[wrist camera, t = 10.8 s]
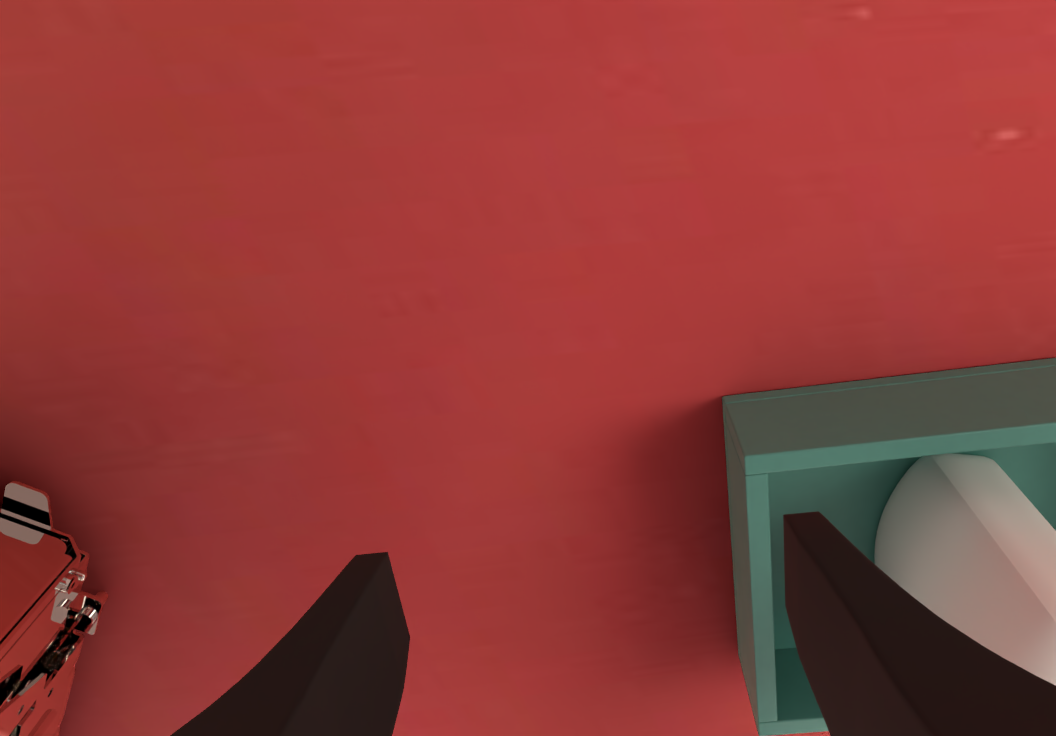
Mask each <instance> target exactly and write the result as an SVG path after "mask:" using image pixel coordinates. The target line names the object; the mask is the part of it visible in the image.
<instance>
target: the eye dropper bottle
mask: <svg viewBox="0 0 1056 736" xmlns="http://www.w3.org/2000/svg"><path fill="white" fill-rule="evenodd" d="M874 558H875V565H876V566H877V567H878V568H880V569H881V570H882V571H883V572H884V573H885V574H887V575H888V576H889V577H890V578H891V579H892V580H893V581H895V582H896V583H897V584H898V585H899V586H900V587H902V588H903V589H904V590H905V591H907V592H908V593H909V594H910V595H911V596H913V597H914V598H915V599H916V600H918V601H919V602H920V603H922V604H923V605H924V606H926V607H927V608H928V609H929V610H931V611H932V612H933V613H935V614H936V615H937V616H939V617H940V618H942V619H943V620H944V621H946V622H947V623H949V624H950V625H952V626H953V627H955V628H956V629H958V630H959V631H961V632H962V633H964V634H966V635H967V636H969V637H970V638H972V639H973V640H975V641H976V642H978V643H979V644H981V645H983V646H984V647H986V648H987V649H989V650H991V651H993V652H994V653H996V654H998V655H999V656H1001V657H1003V658H1005V659H1006V660H1008V661H1010V662H1012V663H1014V664H1016V665H1017V666H1019V667H1021V668H1023V669H1025V670H1027V671H1028V672H1030V673H1032V674H1034V675H1036V676H1038V677H1040V678H1042V679H1044V680H1046V681H1048V682H1050V683H1052V684H1054V685H1056V531H1055V529H1054V528H1053V527H1052V526H1051V525H1050V524H1049V523H1048V521H1047V520H1046V519H1045V518H1044V517H1043V516H1042V515H1041V513H1040V512H1039V511H1038V510H1037V509H1036V508H1035V506H1034V505H1033V504H1032V503H1031V502H1030V501H1029V500H1028V498H1027V497H1026V496H1025V495H1024V494H1023V493H1022V492H1021V490H1020V489H1019V488H1018V487H1017V486H1016V485H1015V483H1014V482H1013V481H1012V480H1011V479H1010V478H1009V477H1008V475H1007V474H1006V473H1005V472H1004V471H1003V470H1002V469H1001V467H1000V466H999V465H998V464H997V463H996V462H995V461H994V460H992V459H989V458H987V457H984V456H977V455H967V454H953V453H949V454H940V455H931V456H923V457H921V458H920V459H918V460H917V461H916V462H915V463H914V464H913V465H912V466H911V467H910V468H909V469H908V471H907V472H906V473H905V474H904V476H903V477H902V478H901V480H900V481H899V483H898V484H897V486H896V487H895V489H894V491H893V492H892V494H891V496H890V498H889V499H888V501H887V504H886V506H885V508H884V510H883V513H882V515H881V519H880V522H879V525H878V529H877V534H876V540H875V553H874Z"/></svg>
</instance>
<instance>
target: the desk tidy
mask: <svg viewBox="0 0 1056 736" xmlns="http://www.w3.org/2000/svg"><path fill="white" fill-rule="evenodd" d="M722 405H723V421H724V437H725V452H726V468H727V484H728V499H729V515H730V531H731V547H732V562H733V578H734V594H735V609H736V625H737V641H738V655H739V659H740V663H741V667H742V671H743V675H744V679H745V683H746V687H747V691H748V695H749V699H750V703H751V707H752V711H753V715H754V719H755V723H756V727H757V731H758V735H759V736H770V735H783V734H796V733H809V732H823V731H829V730H828V728H827V725H826V723H825V720H824V718H823V715H822V713H821V711H820V708H819V706H818V703H817V701H816V698H815V696H814V693H813V691H812V688H811V686H810V683H809V681H808V678H807V676H806V673H805V671H804V668H803V666H802V663H801V661H800V658H799V655H798V651H797V648H796V644H795V641H794V637H793V633H792V630H791V626H790V622H789V618H788V614H787V610H786V607H785V573H784V527H783V515H785V514H796V513H807V512H817V511H819V512H820V513H821V514H822V515H824V516H825V517H826V518H827V519H828V520H829V521H830V522H831V523H832V524H833V525H834V526H835V527H836V528H837V529H838V530H839V531H840V532H841V533H842V534H843V535H844V536H845V537H846V538H847V539H848V540H849V541H850V542H851V543H852V544H853V545H854V546H856V547H857V548H858V549H859V550H860V551H861V552H862V553H863V554H864V555H865V556H866V557H867V558H868V559H869V560H871V561H872V562H873V563H874V564H875V558H874V553H875V540H876V534H877V529H878V525H879V522H880V519H881V515H882V513H883V510H884V508H885V506H886V504H887V501H888V499H889V498H890V496H891V494H892V492H893V491H894V489H895V487H896V486H897V484H898V483H899V481H900V480H901V478H902V477H903V476H904V474H905V473H906V472H907V471H908V469H909V468H910V467H911V466H912V465H913V464H914V463H915V462H916V461H917V460H918V459H920V458H921V457H923V456H931V455H940V454H949V453H953V454H967V455H977V456H984V457H987V458H989V459H992V460H994V461H995V462H996V463H997V464H998V465H999V466H1000V467H1001V469H1002V470H1003V471H1004V472H1005V473H1006V474H1007V475H1008V477H1009V478H1010V479H1011V480H1012V481H1013V482H1014V483H1015V485H1016V486H1017V487H1018V488H1019V489H1020V490H1021V492H1022V493H1023V494H1024V495H1025V496H1026V497H1027V498H1028V500H1029V501H1030V502H1031V503H1032V504H1033V505H1034V506H1035V508H1036V509H1037V510H1038V511H1039V512H1040V513H1041V515H1042V516H1043V517H1044V518H1045V519H1046V520H1047V521H1048V523H1049V524H1050V525H1051V526H1052V527H1053V528H1054V529H1055V531H1056V358H1049V359H1041V360H1032V361H1023V362H1015V363H1006V364H997V365H989V366H980V367H971V368H963V369H954V370H945V371H937V372H928V373H919V374H911V375H902V376H894V377H885V378H876V379H868V380H859V381H850V382H842V383H833V384H824V385H816V386H807V387H798V388H790V389H781V390H772V391H764V392H755V393H746V394H738V395H729V396H723V397H722Z"/></svg>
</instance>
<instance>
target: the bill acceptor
mask: <svg viewBox="0 0 1056 736" xmlns="http://www.w3.org/2000/svg"><path fill="white" fill-rule="evenodd" d="M89 557H90V555H89V553H87V552H84V551H81V550H79V549H78V547H77V545H76V543H75V541H74V539H73V537H72V536H71V535H69V534H66V533H63V532H61V531H58V530H55V529H53V522H52V514H51V505H50V498H49V496H48V494H47V493H46V492H44V491H42V490H39V489H37V488H34V487H31V486H29V485H26V484H23V483H20V482H18V481H11V482H10V483H8V484H7V485H6V487H5V492H4V498H3V503H2V509H1V510H0V736H59V732H60V727H59V725H60V723H61V721H62V720H63V717H64V713H65V709H66V705H67V701H68V697H69V694H70V690H71V686H72V682H73V678H74V674H75V670H76V669H75V667H74V665H75V663H76V661H77V660H78V658H79V655H80V651H81V647H82V643H83V639H84V635H83V634H81V633H78V632H76V631H75V629H77V630H80V631H83V632H85V633H88V634H91V635H93V634H94V633H95V632H96V631H97V628H98V622H99V618H100V615H101V611H102V609H103V605H104V602H105V601H106V600H107V599H108V594H107V593H106V592H104V591H99V592H98V593H97V595H96V596H95V595H92V594H89V593H87V592H84V591H81V589H82V585H83V581H84V580H85V579H86V578H87V575H88V574H87V572H86V569H87V565H88V561H89Z"/></svg>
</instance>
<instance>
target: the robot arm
mask: <svg viewBox="0 0 1056 736" xmlns="http://www.w3.org/2000/svg"><path fill="white" fill-rule="evenodd" d="M783 527H784V573H785V607H786V610H787V614H788V618H789V622H790V626H791V630H792V633H793V637H794V641H795V644H796V648H797V651H798V655H799V658H800V661H801V663H802V666H803V668H804V671H805V673H806V676H807V678H808V681H809V683H810V686H811V688H812V691H813V693H814V696H815V698H816V701H817V703H818V706H819V708H820V711H821V713H822V715H823V718H824V720H825V723H826V725H827V728H828V730H829V733H830V735H831V736H1056V685H1054V684H1052V683H1050V682H1048V681H1046V680H1044V679H1042V678H1040V677H1038V676H1036V675H1034V674H1032V673H1030V672H1028V671H1027V670H1025V669H1023V668H1021V667H1019V666H1017V665H1016V664H1014V663H1012V662H1010V661H1008V660H1006V659H1005V658H1003V657H1001V656H999V655H998V654H996V653H994V652H993V651H991V650H989V649H987V648H986V647H984V646H983V645H981V644H979V643H978V642H976V641H975V640H973V639H972V638H970V637H969V636H967V635H966V634H964V633H962V632H961V631H959V630H958V629H956V628H955V627H953V626H952V625H950V624H949V623H947V622H946V621H944V620H943V619H942V618H940V617H939V616H937V615H936V614H935V613H933V612H932V611H931V610H929V609H928V608H927V607H926V606H924V605H923V604H922V603H920V602H919V601H918V600H916V599H915V598H914V597H913V596H911V595H910V594H909V593H908V592H907V591H905V590H904V589H903V588H902V587H900V586H899V585H898V584H897V583H896V582H895V581H893V580H892V579H891V578H890V577H889V576H888V575H887V574H885V573H884V572H883V571H882V570H881V569H880V568H878V567H877V566H876V565H875V564H874V563H873V562H872V561H871V560H869V559H868V558H867V557H866V556H865V555H864V554H863V553H862V552H861V551H860V550H859V549H858V548H857V547H856V546H854V545H853V544H852V543H851V542H850V541H849V540H848V539H847V538H846V537H845V536H844V535H843V534H842V533H841V532H840V531H839V530H838V529H837V528H836V527H835V526H834V525H833V524H832V523H831V522H830V521H829V520H828V519H827V518H826V517H825V516H824V515H822V514H821V513H820V512H819V511H817V512H807V513H796V514H785V515H783ZM409 641H410V635H409V632H408V628H407V624H406V620H405V616H404V612H403V609H402V605H401V601H400V597H399V593H398V590H397V586H396V582H395V578H394V574H393V571H392V567H391V563H390V559H389V555H388V552H383V553H373V554H362V555H356V556H355V557H354V558H353V559H352V560H351V561H350V562H349V563H348V565H347V566H346V567H345V568H344V569H343V570H342V572H341V573H340V574H339V575H338V576H337V577H336V579H335V580H334V581H333V582H332V583H331V584H330V586H329V587H328V588H327V589H326V590H325V591H324V593H323V594H322V595H321V596H320V597H319V598H318V600H317V601H316V602H315V603H314V604H313V605H312V607H311V608H310V609H309V610H308V611H307V612H306V613H305V614H304V616H303V617H302V618H301V619H300V620H299V621H298V622H297V623H296V625H295V626H294V627H293V628H292V629H291V630H290V631H289V632H288V633H287V634H286V635H285V636H284V637H283V638H282V639H281V640H280V641H279V642H278V643H277V644H276V645H275V646H274V647H273V648H272V649H271V651H270V652H269V653H268V654H267V655H266V656H265V657H264V658H263V659H262V660H261V661H260V662H259V663H258V664H257V665H256V666H255V667H254V668H253V669H252V670H250V671H249V672H248V673H247V674H246V675H245V676H244V677H243V678H242V679H241V680H240V681H238V682H237V683H236V684H235V685H234V686H233V687H232V688H230V689H229V690H228V691H227V692H226V693H225V694H223V695H222V696H221V697H220V698H219V699H218V700H216V701H215V702H214V703H213V704H211V705H210V706H209V707H208V708H207V709H205V710H204V711H203V712H201V713H200V714H199V715H197V716H196V717H195V718H193V719H192V720H191V721H189V722H188V723H187V724H185V725H184V726H183V727H181V728H180V729H179V730H177V731H176V732H175V733H173V734H172V735H171V736H392V733H393V729H394V725H395V721H396V718H397V714H398V710H399V706H400V702H401V698H402V693H403V689H404V683H405V675H406V668H407V660H408V651H409Z"/></svg>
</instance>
